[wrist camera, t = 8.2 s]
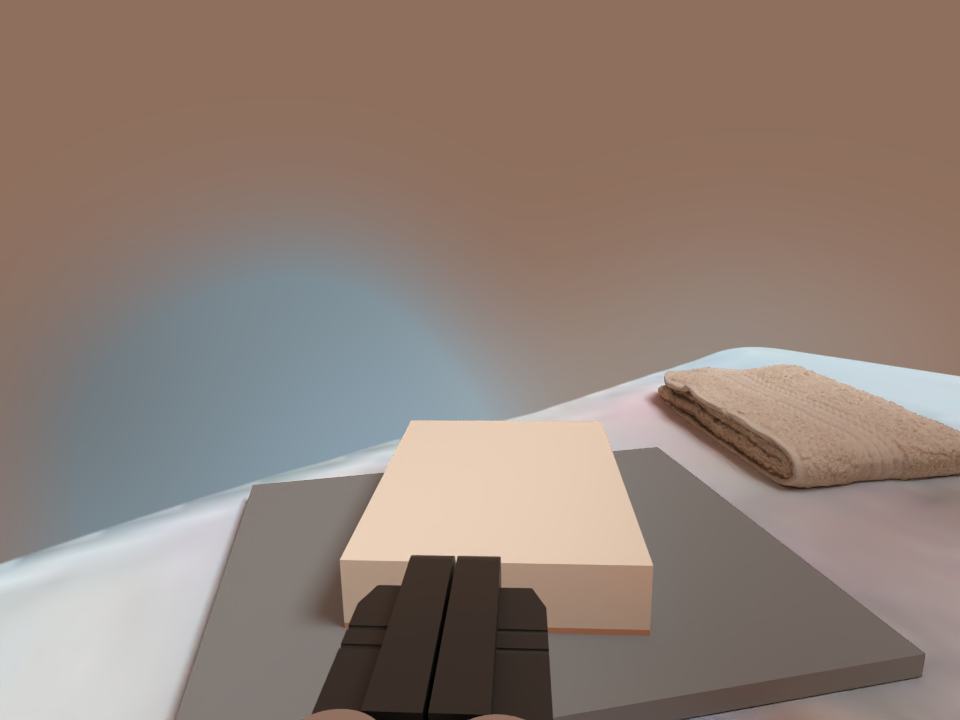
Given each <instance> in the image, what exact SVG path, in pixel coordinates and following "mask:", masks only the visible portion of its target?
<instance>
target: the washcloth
mask: <svg viewBox="0 0 960 720" xmlns="http://www.w3.org/2000/svg"><path fill="white" fill-rule="evenodd" d="M664 381H665V385H664V386H661V387H659V389H658V393H659V394H660V395H661V396H662V397H663V399H665V400H666V404H667V405H668V406H670V408H672V409H673V410H674V411H675V412H676V413H677V414H678V415H680V416H681V417H683V418H684V419H686V420H687V421H688V422H689V423H691V424H693V425H694V426H695V427H697V428H698V429H700V430H701V431H702V432H704V433H705V434H707V435H708V436H710V437H711V438H712V439H714V440H715V441H717V442H718V443H720V444H721V445H723V446H724V447H725V448H727V449H728V450H730V451H731V452H733V453H734V454H736V455H738V456H739V457H740V458H742V459H743V460H744V461H746V462H747V463H749V464H750V465H751V466H753V467H754V468H755V469H757V470H758V471H760V472H761V473H762V474H764V475H765V476H767V477H768V478H770V479H771V480H772V481H774V482H776V483H778V484H781V485H784V486H793V487H799V488H801V487H804V488H810V487H817V486H834V485H836V484H838V485H845V484H850V483H851V482H857V481H872V480H885V479H888V478H890V479H900V480H908V479H917V478H926V477H932V476H949V475H952V474H953V475H960V431H958V430H956V429H953V428H951V427H949V426H947V425H944V424H943V423H939V422H937V421H934V420H932V419H929V418H926V417H923V416H920V415H917V414H916V413H913V412H911V411H909V410H906V409H905V408H904V407H903V406H899V405H897V404H895V403H893V402H889V401H887V400H885V399H883V398H881V397H878V396H874V395H871V394H869V393H867V392H865V391H863V390H862V391H861V390H858V389H856V388H855V387H852V386H850V385H846V384H843V383H839V382H837V381H836V380H833V379H829V378H827V377H826V376H821V375H820V374H817V373H815V372H813V371H809V370H807V369H805V368H804V367H801V366H796V365H773V366H768V367H763V368H753V369H747V370H732V369H721V368H710V367H705V368H700V369H692V370H685V371H669V372H667V373H666V374H665V376H664Z"/></svg>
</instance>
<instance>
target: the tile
mask: <svg viewBox="0 0 960 720" xmlns="http://www.w3.org/2000/svg"><path fill="white" fill-rule="evenodd" d="M411 555H440V556H455V559H456V561H457V557H458V556H500V557H501V588H532V589H533V590H534V591H535V593H536V594H537V595H538V597H539V598H540V600H541V601H542V602H543V604H544V605H545V606H546V610H547V626H548V633H570V634H610V635H649V636H650V624H651V604H652V583H653V563H652V561H651V558H650V555H649V552H648V549H647V547H646V544H645V541H644V538H643V536H642V533H641V530H640V527H639V524H638V522H637V519H636V516H635V513H634V510H633V508H632V505H631V502H630V499H629V497H628V494H627V491H626V488H625V485H624V483H623V480H622V477H621V474H620V472H619V469H618V466H617V463H616V460H615V458H614V455H613V452H612V449H611V446H610V444H609V441H608V438H607V435H606V433H605V430H604V427H603V424H602V421H411V422H410V424H409V426H408V428H407V430H406V432H405V434H404V436H403V438H402V440H401V442H400V443H399V445H398V447H397V449H396V451H395V453H394V455H393V457H392V459H391V461H390V463H389V465H388V467H387V469H386V471H385V473H384V475H383V477H382V479H381V480H380V482H379V484H378V486H377V488H376V490H375V492H374V494H373V496H372V498H371V500H370V502H369V504H368V506H367V508H366V510H365V512H364V514H363V515H362V517H361V519H360V521H359V523H358V525H357V527H356V529H355V531H354V533H353V535H352V537H351V539H350V541H349V543H348V545H347V547H346V549H345V551H344V552H343V554H342V556H341V558H340V572H341V585H342V598H343V612H344V625H345V628H348V627H349V623H350V620H351V618H352V616H353V613H354V611H355V608H356V606H357V604H358V602H360V601H361V600H362V599H363V598H364V597H365V596H366V595H367V594H368V593H370V592H371V591H372V590H373V589H374V588H375V587H376V586H377V585H401V584H402V581H403V578H404V575H405V572H406V569H407V565H408V562H409V559H410V557H411Z"/></svg>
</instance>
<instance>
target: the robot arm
mask: <svg viewBox="0 0 960 720" xmlns="http://www.w3.org/2000/svg"><path fill="white" fill-rule="evenodd" d="M301 720H553V707H552V691H551V675H550V658H549V642H548V626H547V610H546V606H545V605H544V604H543V602H542V601H541V600H540V598H539V597H538V595H537V594H536V593H535V591H534V590H533V589H532V588H501V557H500V556H458V557H457V561H456V559H455V556H440V555H411V557H410V559H409V562H408V565H407V569H406V572H405V575H404V578H403V581H402V584H401V585H377V586H376V587H375V588H374V589H373V590H372V591H371V592H370V593H368V594H367V595H366V596H365V597H364V598H363V599H362V600H361V601H360V602H358V604H357V606H356V608H355V611H354V613H353V616H352V618H351V620H350V623H349V627H348V629H347V630H346V632H345V635H344V637H343V640H342V642H341V648H339V649H338V652H337V654H336V656H335V659H334V661H333V664H332V666H331V668H330V671H329V673H328V676H327V678H326V680H325V683H324V685H323V688H322V690H321V692H320V695H319V697H318V699H317V702H316V704H315V707H314V709H313V711H312V714H311V715H309V716H307V717H305V718H303V719H301Z"/></svg>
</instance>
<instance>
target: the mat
mask: <svg viewBox="0 0 960 720" xmlns="http://www.w3.org/2000/svg"><path fill="white" fill-rule="evenodd" d="M612 452H613V455H614V458H615V460H616V463H617V466H618V469H619V472H620V474H621V477H622V480H623V483H624V485H625V488H626V491H627V494H628V497H629V499H630V502H631V505H632V508H633V510H634V513H635V516H636V519H637V522H638V524H639V527H640V530H641V533H642V536H643V538H644V541H645V544H646V547H647V549H648V552H649V555H650V558H651V561H652V563H653V583H652V604H651V624H650V636H649V635H610V634H570V633H548V642H549V658H550V675H551V691H552V707H553V720H680V719H686V718H691V717H697V716H703V715H708V714H714V713H719V712H725V711H731V710H736V709H742V708H747V707H753V706H759V705H764V704H770V703H775V702H781V701H786V700H792V699H798V698H803V697H809V696H814V695H820V694H826V693H831V692H837V691H842V690H848V689H854V688H859V687H865V686H870V685H876V684H882V683H887V682H893V681H898V680H904V679H909V678H915V677H921V676H922V672H923V665H924V659H925V653H924V652H922V651H921V650H920V649H919V648H917V647H916V646H915V645H913V644H912V643H911V642H909V641H908V640H907V639H906V638H904V637H903V636H902V635H900V634H899V633H898V632H896V631H895V630H894V629H893V628H891V627H890V626H889V625H887V624H886V623H885V622H883V621H882V620H881V619H880V618H878V617H877V616H876V615H874V614H873V613H872V612H871V611H869V610H868V609H867V608H865V607H864V606H863V605H861V604H860V603H859V602H858V601H856V600H855V599H854V598H852V597H851V596H850V595H848V594H847V593H846V592H845V591H843V590H842V589H841V588H839V587H838V586H837V585H836V584H834V583H833V582H832V581H830V580H829V579H828V578H826V577H825V576H824V575H823V574H821V573H820V572H819V571H817V570H816V569H815V568H813V567H812V566H811V565H810V564H808V563H807V562H806V561H804V560H803V559H802V558H801V557H799V556H798V555H797V554H795V553H794V552H793V551H791V550H790V549H789V548H788V547H786V546H785V545H784V544H782V543H781V542H780V541H778V540H777V539H776V538H775V537H773V536H772V535H771V534H769V533H768V532H767V531H765V530H764V529H763V528H762V527H760V526H759V525H758V524H756V523H755V522H754V521H753V520H751V519H750V518H749V517H747V516H746V515H745V514H743V513H742V512H741V511H740V510H738V509H737V508H736V507H734V506H733V505H732V504H730V503H729V502H728V501H727V500H725V499H724V498H723V497H721V496H720V495H719V494H718V493H716V492H715V491H714V490H712V489H711V488H710V487H708V486H707V485H706V484H705V483H703V482H702V481H701V480H699V479H698V478H697V477H695V476H694V475H693V474H692V473H690V472H689V471H688V470H686V469H685V468H684V467H682V466H681V465H680V464H679V463H677V462H676V461H675V460H673V459H672V458H671V457H670V456H668V455H667V454H666V453H664V452H663V451H662V450H660V449H659V448H658V447H655V448H644V449H633V450H623V451H612ZM383 475H384V473H378V474H367V475H356V476H346V477H335V478H324V479H314V480H303V481H292V482H282V483H271V484H260V485H253V486H252V489H251V493H250V496H249V499H248V502H247V505H246V508H245V511H244V514H243V517H242V520H241V523H240V526H239V529H238V532H237V535H236V538H235V541H234V544H233V547H232V550H231V553H230V556H229V559H228V562H227V565H226V568H225V571H224V574H223V577H222V580H221V583H220V586H219V589H218V592H217V596H216V599H215V602H214V605H213V608H212V611H211V614H210V617H209V620H208V623H207V626H206V629H205V632H204V635H203V638H202V641H201V644H200V647H199V650H198V653H197V656H196V659H195V662H194V665H193V668H192V671H191V674H190V677H189V680H188V683H187V686H186V689H185V692H184V695H183V699H182V702H181V705H180V708H179V711H178V714H177V717H176V720H301V719H303V718H305V717H307V716H309V715H311V714H312V711H313V709H314V707H315V704H316V702H317V699H318V697H319V695H320V692H321V690H322V688H323V685H324V683H325V680H326V678H327V676H328V673H329V671H330V668H331V666H332V664H333V661H334V659H335V656H336V654H337V652H338V649H339V648H341V642H342V640H343V637H344V635H345V632H346V630H347V629H348V628H345V625H344V612H343V598H342V585H341V572H340V558H341V556H342V554H343V552H344V551H345V549H346V547H347V545H348V543H349V541H350V539H351V537H352V535H353V533H354V531H355V529H356V527H357V525H358V523H359V521H360V519H361V517H362V515H363V514H364V512H365V510H366V508H367V506H368V504H369V502H370V500H371V498H372V496H373V494H374V492H375V490H376V488H377V486H378V484H379V482H380V480H381V479H382V477H383Z"/></svg>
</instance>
